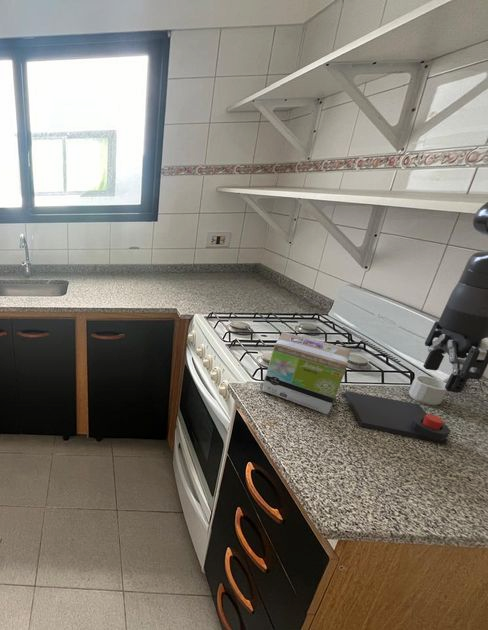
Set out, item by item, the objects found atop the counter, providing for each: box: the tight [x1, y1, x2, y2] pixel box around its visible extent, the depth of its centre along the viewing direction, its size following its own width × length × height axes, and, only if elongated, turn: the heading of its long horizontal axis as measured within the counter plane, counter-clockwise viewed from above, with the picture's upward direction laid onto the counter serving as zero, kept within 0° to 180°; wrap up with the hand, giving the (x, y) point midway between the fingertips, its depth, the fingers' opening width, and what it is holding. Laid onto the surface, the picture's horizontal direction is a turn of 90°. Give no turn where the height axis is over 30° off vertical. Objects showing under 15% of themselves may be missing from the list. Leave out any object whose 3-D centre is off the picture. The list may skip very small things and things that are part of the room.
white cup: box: [408, 374, 449, 406], centre depth 88 cm, size 6×6×5 cm
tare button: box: [422, 413, 445, 430], centre depth 76 cm, size 3×3×2 cm
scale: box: [343, 390, 451, 445], centre depth 82 cm, size 15×14×3 cm
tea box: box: [261, 331, 351, 415], centre depth 88 cm, size 15×10×15 cm
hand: (440, 379), depth 72 cm, fingers open, 8 cm apart
